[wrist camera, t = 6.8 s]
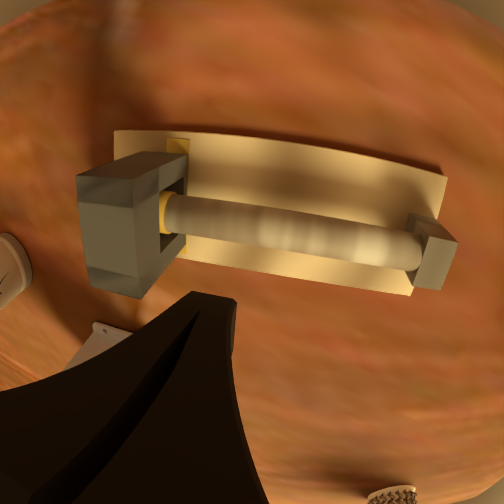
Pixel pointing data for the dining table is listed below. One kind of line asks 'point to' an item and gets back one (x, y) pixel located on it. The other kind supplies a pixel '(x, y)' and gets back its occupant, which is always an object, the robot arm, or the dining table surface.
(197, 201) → the pipe stand
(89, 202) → the grey notched block
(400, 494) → the decorative candle
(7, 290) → the travel mug
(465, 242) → the dining table surface
